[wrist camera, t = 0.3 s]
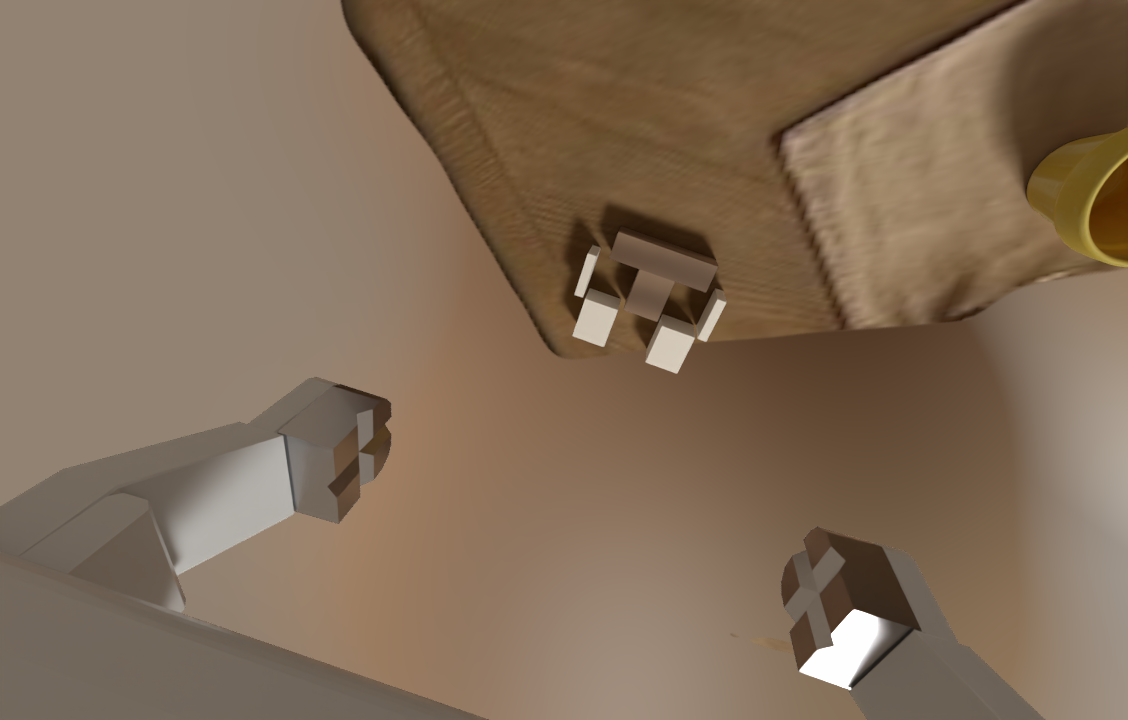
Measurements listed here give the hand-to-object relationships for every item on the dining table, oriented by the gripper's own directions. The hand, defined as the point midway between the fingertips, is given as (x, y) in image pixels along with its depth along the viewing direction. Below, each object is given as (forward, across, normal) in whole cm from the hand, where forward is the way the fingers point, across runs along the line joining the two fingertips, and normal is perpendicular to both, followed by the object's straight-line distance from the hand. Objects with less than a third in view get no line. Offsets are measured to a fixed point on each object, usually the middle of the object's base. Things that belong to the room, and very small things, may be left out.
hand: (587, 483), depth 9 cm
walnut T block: (+46, -3, +10) cm, 47 cm away
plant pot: (+46, -36, -8) cm, 59 cm away
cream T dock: (+46, -2, +15) cm, 48 cm away
